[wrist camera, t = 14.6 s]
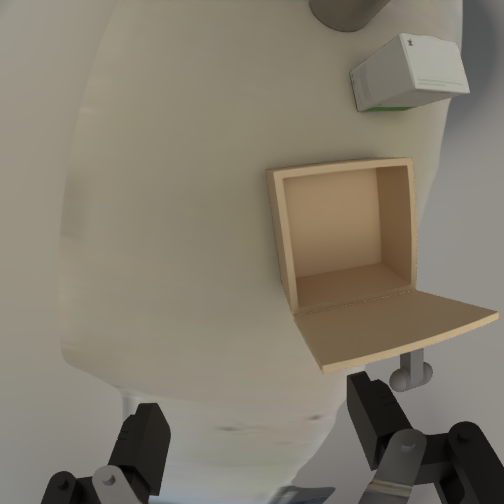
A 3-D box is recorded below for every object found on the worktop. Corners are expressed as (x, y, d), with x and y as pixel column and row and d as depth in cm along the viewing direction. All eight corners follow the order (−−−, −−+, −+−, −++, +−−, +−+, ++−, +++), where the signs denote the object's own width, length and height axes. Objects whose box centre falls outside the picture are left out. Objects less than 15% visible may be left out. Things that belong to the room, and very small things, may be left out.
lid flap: (322, 365, 19) (327, 427, 19) (498, 311, 19) (495, 367, 19) (293, 315, 35) (299, 357, 35) (415, 290, 35) (417, 328, 35)
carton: (265, 170, 40) (273, 171, 30) (376, 157, 40) (412, 157, 30) (281, 283, 44) (292, 315, 35) (384, 264, 44) (416, 289, 35)
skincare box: (356, 112, 38) (412, 90, 23) (347, 68, 36) (396, 29, 21) (406, 111, 38) (472, 96, 23) (397, 70, 36) (458, 40, 21)
